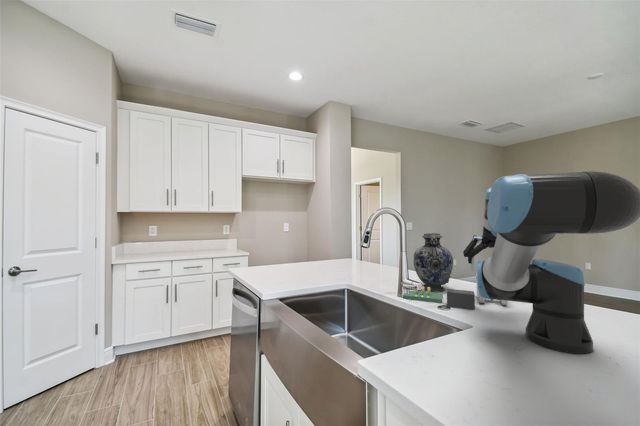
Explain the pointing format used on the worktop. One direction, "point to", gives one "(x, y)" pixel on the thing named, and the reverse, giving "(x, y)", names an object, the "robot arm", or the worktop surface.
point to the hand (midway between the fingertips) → (490, 268)
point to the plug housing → (461, 299)
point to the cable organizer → (486, 298)
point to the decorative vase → (433, 263)
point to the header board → (424, 296)
